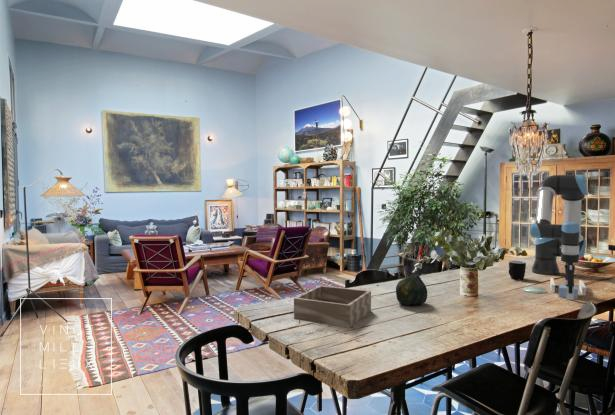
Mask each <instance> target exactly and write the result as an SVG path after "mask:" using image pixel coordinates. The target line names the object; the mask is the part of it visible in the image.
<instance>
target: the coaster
mask: <svg viewBox="0 0 615 415" xmlns="http://www.w3.org/2000/svg"><path fill="white" fill-rule="evenodd" d="M522 290H523V291H524V292H527V293H533V294H545V293H547V292H548V290H547V289H545V288H543V287H537V286H525V287H523V289H522Z"/></svg>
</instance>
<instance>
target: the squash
mask: <svg viewBox="0 0 615 415" xmlns="http://www.w3.org/2000/svg"><path fill="white" fill-rule="evenodd" d="M395 294H396V300H397V302H398V304H401V305H403V306H404V305H406V306H409V305H413V306H415V305H423V304H424V303H426V302H427V299H428V289H427V286H426V284H425V283H424V281H423V280H422V278H421V276H420V275H419V274H418V273H417V274H414V273H413V274H412V275H409V276H406V277H405V278H402V279H401V280H399V281H398V282H397V284H396V286H395Z"/></svg>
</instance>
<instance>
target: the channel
mask: <svg viewBox="0 0 615 415" xmlns="http://www.w3.org/2000/svg"><path fill="white" fill-rule="evenodd" d="M549 280H550V281H549V282H550V283H549V286H550V292H551V293H552V294H553V293H554V294H555V293H556V292H555V291H556V290H555V289H556V286H555V285H556V284H555V279H554V278H553V277H550V278H549ZM578 290H579V292H580V293H581V295H582V296H585V297H586V295H587V287H586V285H585V283H584V280H581V279H579V280H578Z"/></svg>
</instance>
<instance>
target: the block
mask: <svg viewBox="0 0 615 415" xmlns="http://www.w3.org/2000/svg"><path fill="white" fill-rule="evenodd" d="M558 298H562V299H567V286H566V285H565V284H559V288H558ZM578 298H579V285H574V298H573V300H578Z"/></svg>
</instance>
